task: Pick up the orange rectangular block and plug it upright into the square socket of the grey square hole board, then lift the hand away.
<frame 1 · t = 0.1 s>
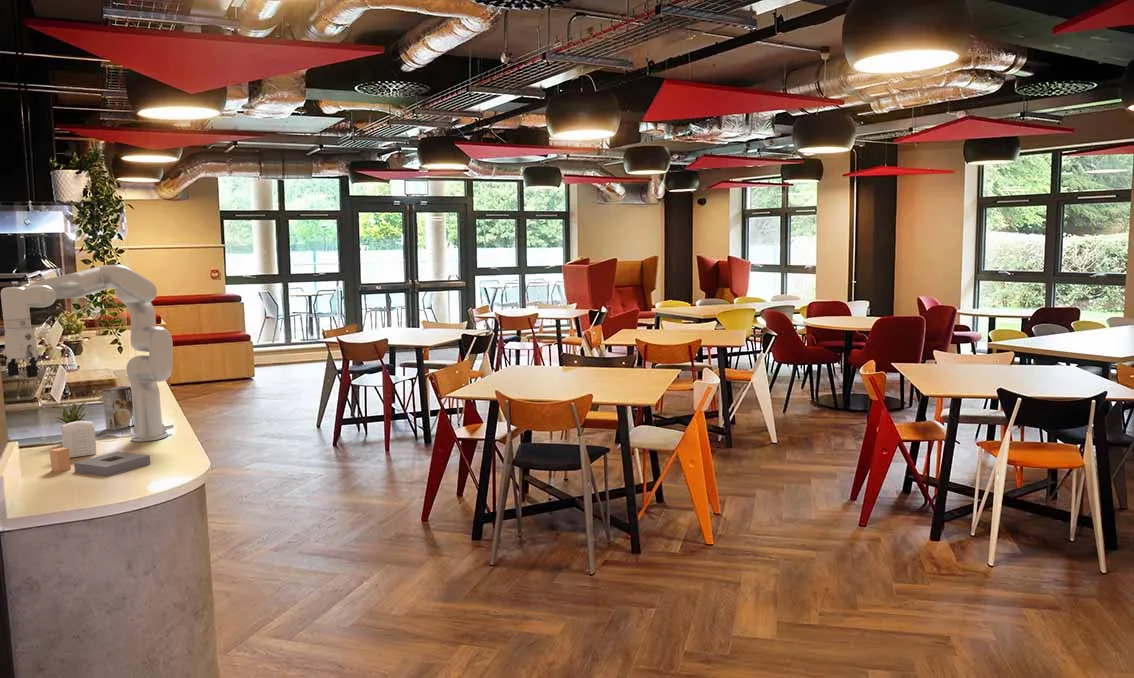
hand: (23, 376, 293), 31 cm above the worktop, fingers open, 9 cm apart
photo printer: (80, 456, 312), on the worktop
house plant: (77, 442, 335), on the worktop
grey square hole board: (113, 467, 294), on the worktop
orange rectangular block: (61, 469, 294), on the worktop
coffee box: (121, 427, 360), on the worktop
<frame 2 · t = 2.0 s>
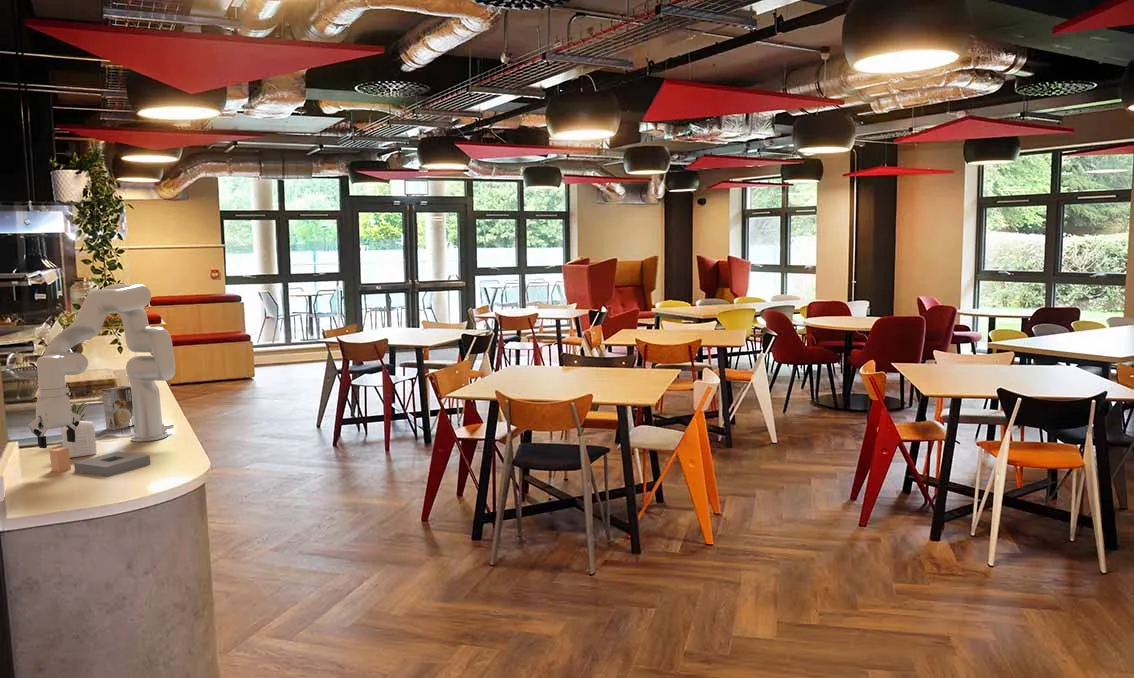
hand: (57, 444, 292), 9 cm above the worktop, fingers open, 9 cm apart
nothing on the worktop moved.
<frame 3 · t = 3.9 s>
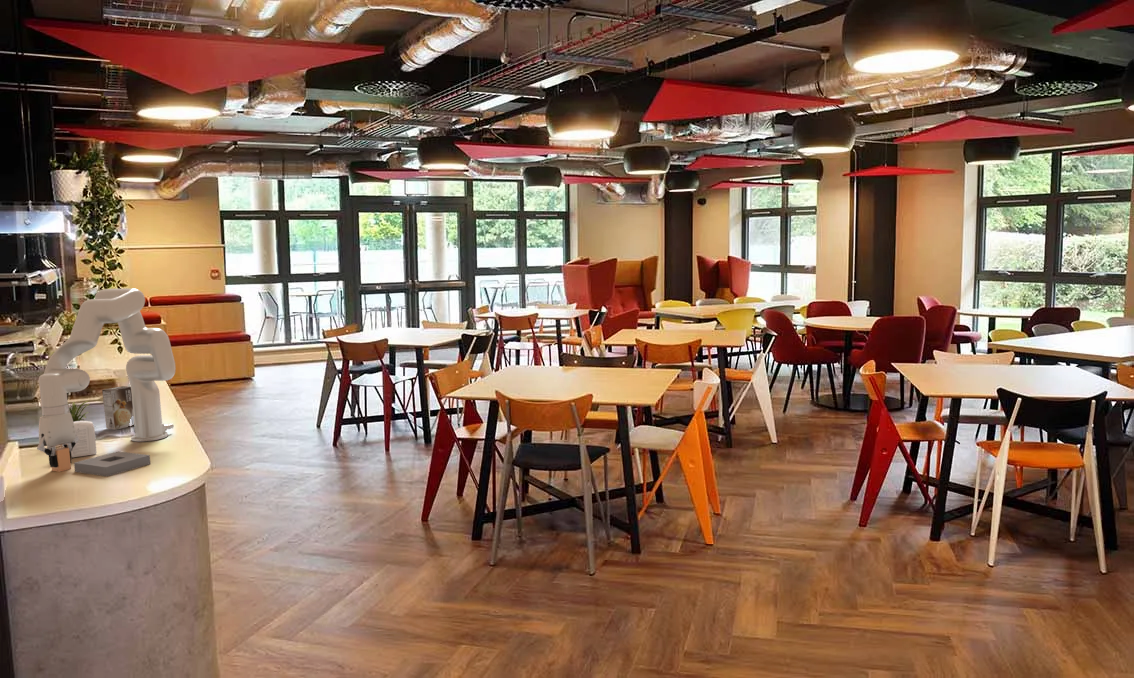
hand: (61, 464, 294), 2 cm above the worktop, fingers closed on orange rectangular block, 4 cm apart
orange rectangular block: (61, 469, 294), on the worktop, touching gripper
everything else where it was.
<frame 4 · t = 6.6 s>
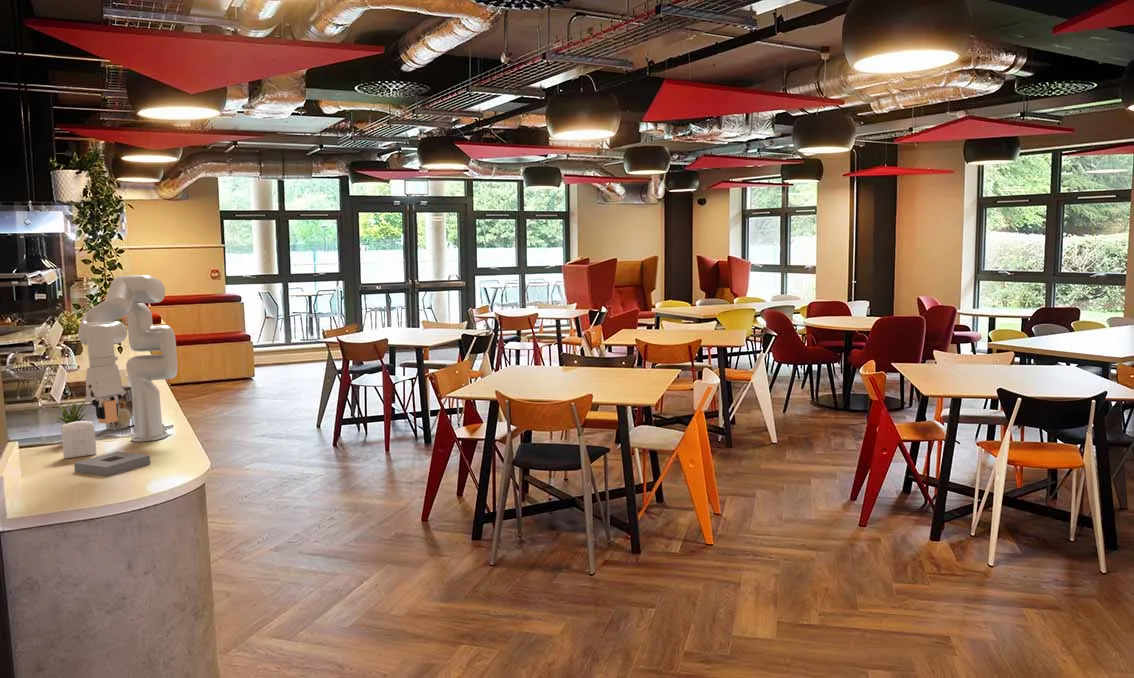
hand: (107, 416, 292), 17 cm above the worktop, fingers closed on orange rectangular block, 4 cm apart
orange rectangular block: (108, 421, 292), point 15 cm above the worktop, touching gripper
everything else where it was.
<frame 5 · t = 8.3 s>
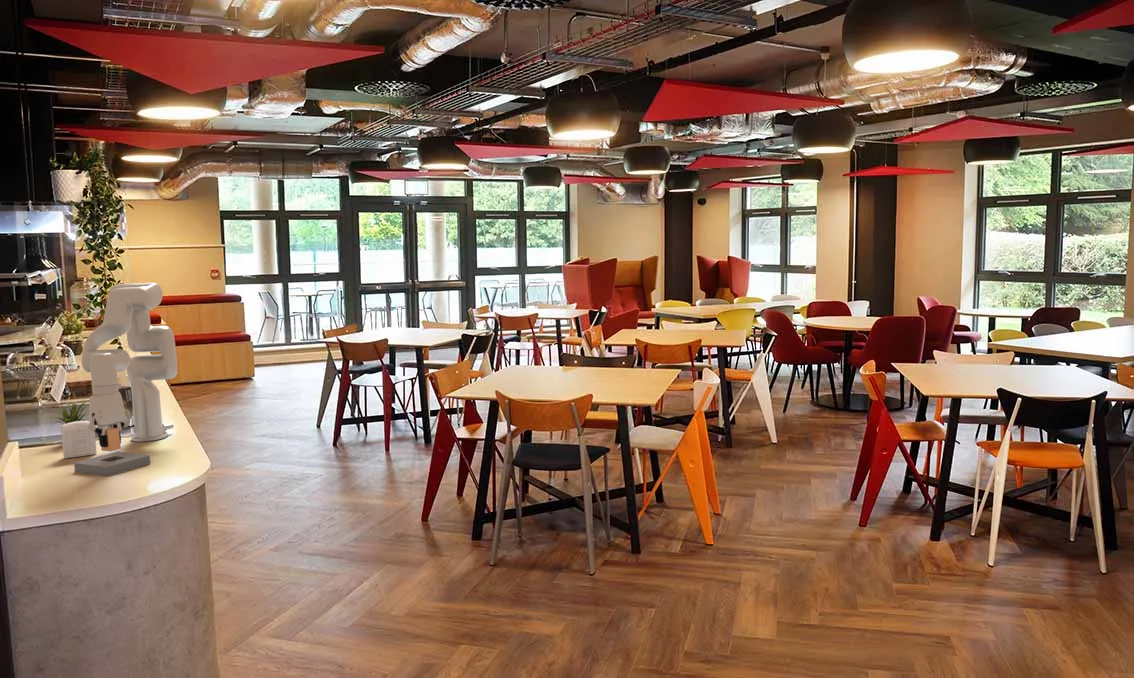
hand: (110, 444, 293), 8 cm above the worktop, fingers closed on orange rectangular block, 4 cm apart
orange rectangular block: (111, 449, 293), point 6 cm above the worktop, touching gripper
everything else where it was.
when the fingers open (4 cm above the worktop, at t = 9.8 s): orange rectangular block drops 2 cm, resting in grey square hole board.
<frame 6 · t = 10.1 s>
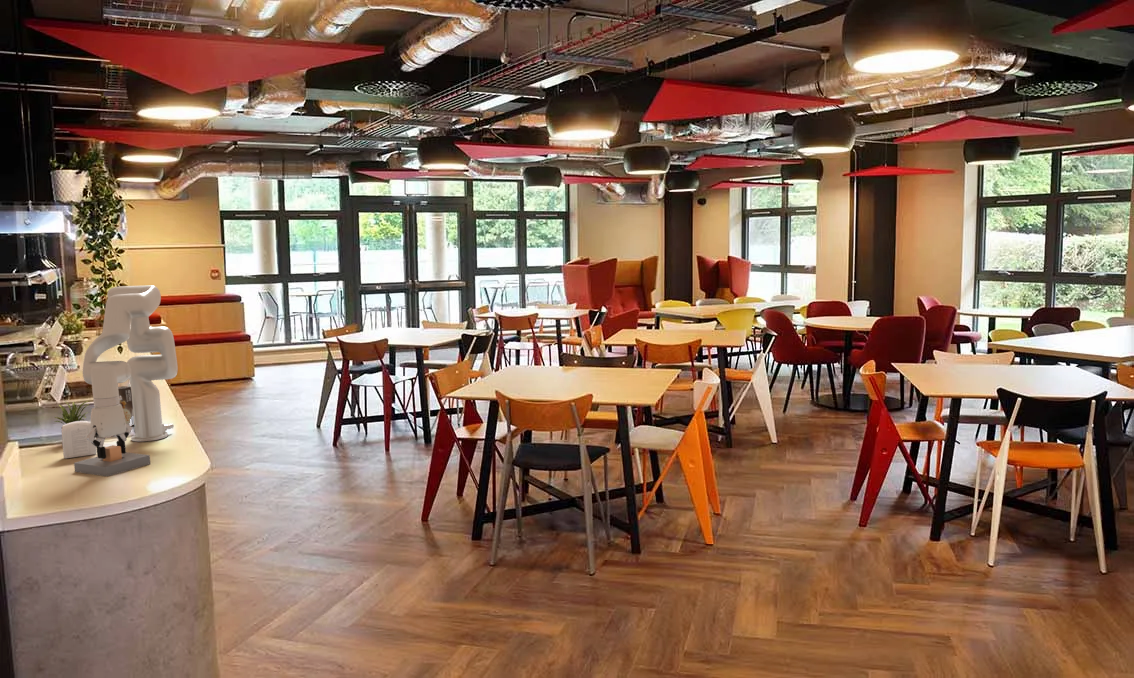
hand: (111, 455, 293), 4 cm above the worktop, fingers open, 6 cm apart
orange rectangular block: (113, 467, 294), resting in grey square hole board
everything else where it was.
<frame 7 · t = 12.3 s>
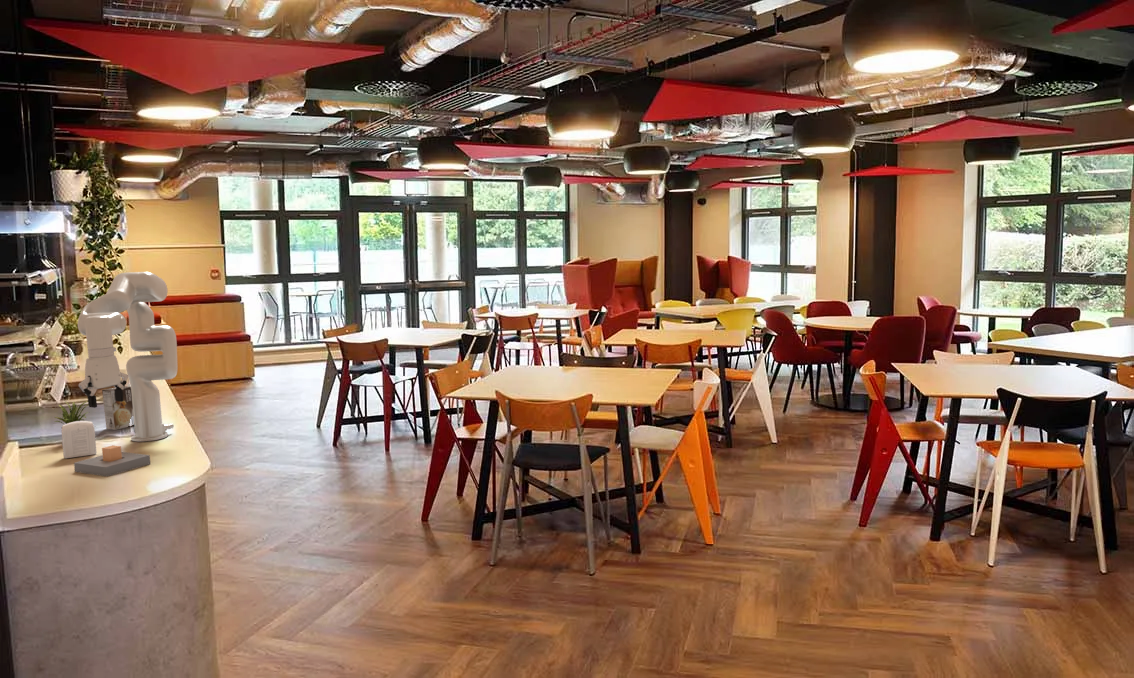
hand: (106, 404, 294), 21 cm above the worktop, fingers open, 9 cm apart
nothing on the worktop moved.
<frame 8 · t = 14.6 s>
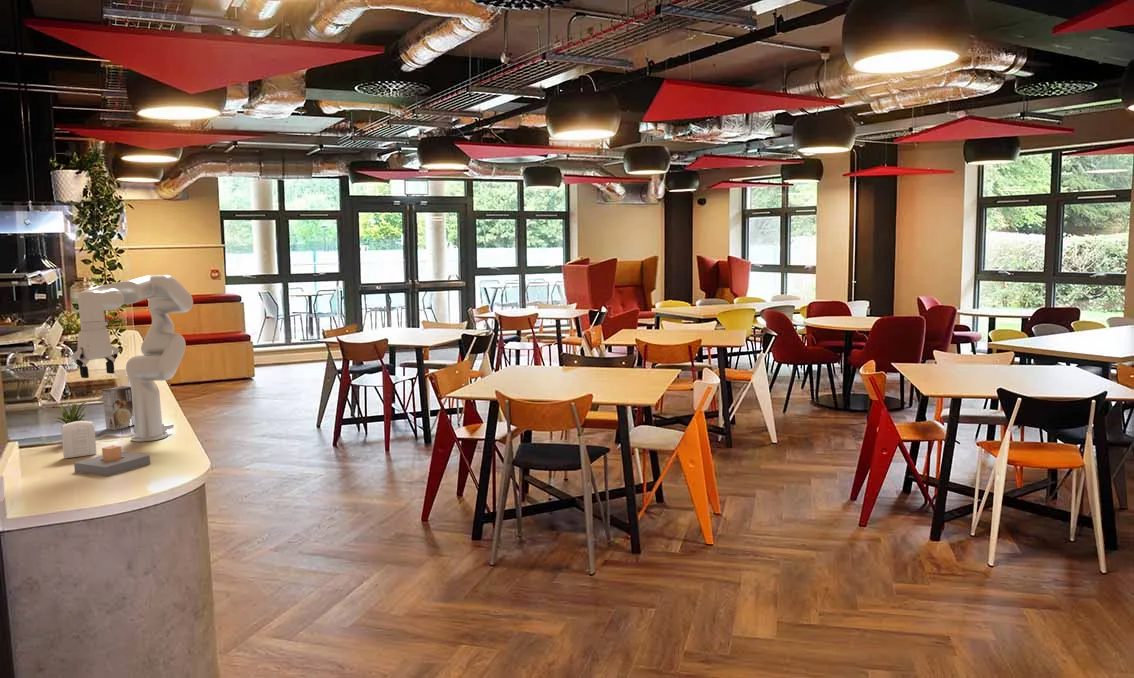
hand: (97, 375, 309), 28 cm above the worktop, fingers open, 9 cm apart
nothing on the worktop moved.
at the end: orange rectangular block 0.1 cm off-centre on the grey square hole board, point 0.0 cm above the grey square hole board's base; orange rectangular block tilted 0°; the gripper is holding nothing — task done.
